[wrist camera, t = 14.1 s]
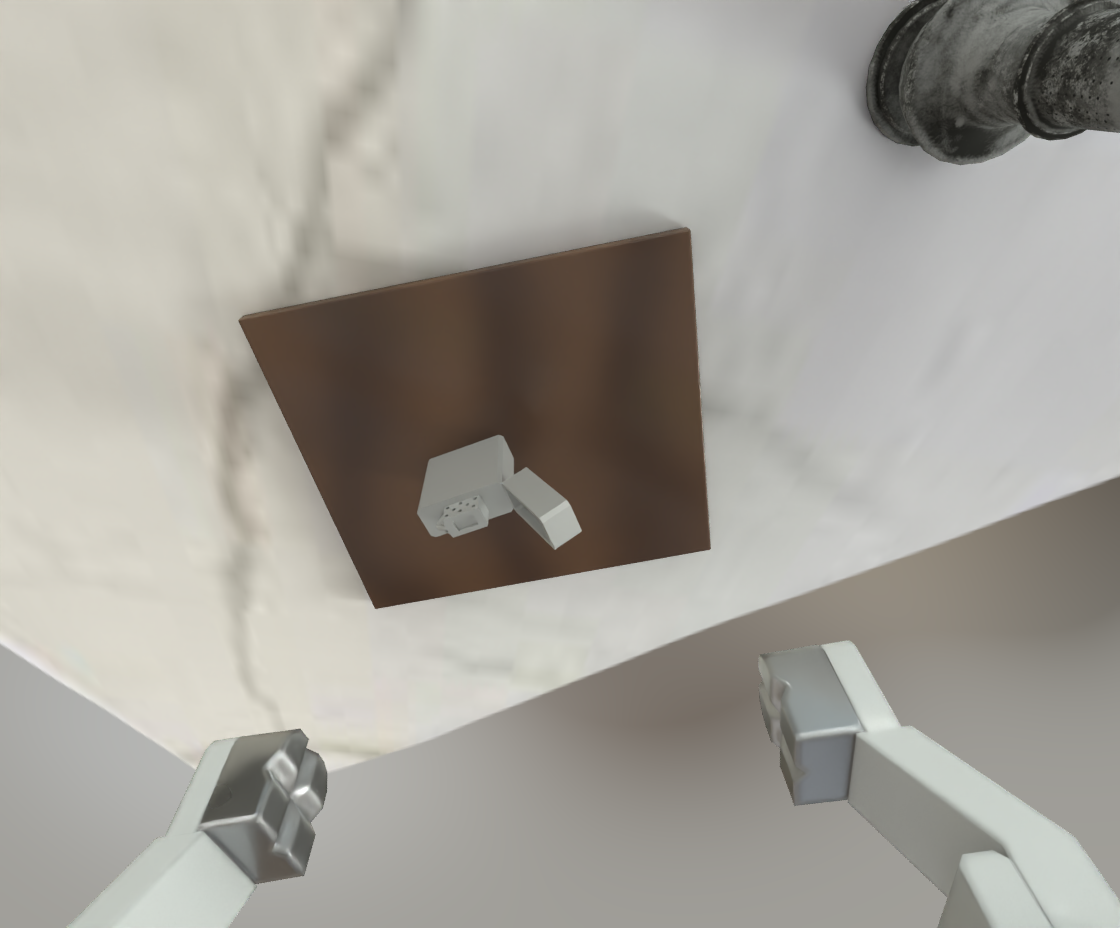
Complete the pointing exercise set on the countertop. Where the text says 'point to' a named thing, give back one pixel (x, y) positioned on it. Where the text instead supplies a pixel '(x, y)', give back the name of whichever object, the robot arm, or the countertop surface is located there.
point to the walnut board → (503, 410)
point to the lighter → (490, 494)
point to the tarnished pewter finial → (995, 74)
